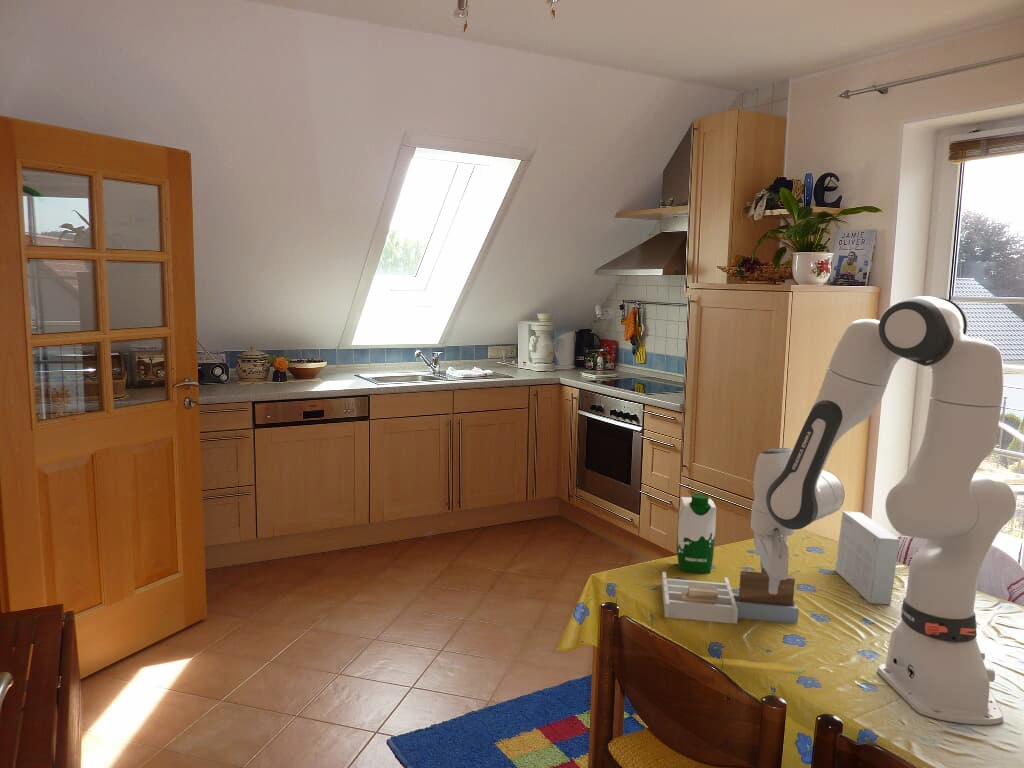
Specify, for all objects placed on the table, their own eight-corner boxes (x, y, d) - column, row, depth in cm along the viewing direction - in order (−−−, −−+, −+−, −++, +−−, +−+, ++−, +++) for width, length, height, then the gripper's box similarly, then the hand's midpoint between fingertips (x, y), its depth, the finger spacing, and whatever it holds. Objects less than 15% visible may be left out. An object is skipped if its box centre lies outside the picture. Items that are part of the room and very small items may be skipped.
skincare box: (893, 605, 179) (900, 539, 177) (869, 604, 179) (876, 538, 177) (855, 570, 200) (861, 510, 198) (834, 570, 200) (839, 510, 198)
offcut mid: (714, 608, 168) (715, 600, 167) (681, 605, 169) (681, 597, 168) (713, 602, 171) (713, 594, 170) (680, 599, 172) (681, 591, 171)
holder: (797, 627, 166) (799, 609, 165) (734, 621, 168) (736, 604, 167) (792, 615, 172) (793, 598, 171) (731, 610, 174) (732, 592, 173)
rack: (736, 627, 165) (738, 610, 164) (664, 621, 167) (665, 603, 167) (726, 593, 183) (727, 577, 182) (661, 588, 185) (662, 571, 184)
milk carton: (677, 576, 192) (683, 497, 189) (674, 563, 201) (678, 487, 198) (714, 578, 191) (719, 500, 189) (708, 565, 200) (714, 489, 197)
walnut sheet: (791, 618, 168) (795, 578, 167) (738, 613, 170) (741, 574, 168) (789, 614, 170) (793, 575, 169) (737, 610, 172) (740, 570, 170)
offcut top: (717, 600, 167) (718, 592, 167) (689, 598, 168) (689, 590, 168) (716, 595, 170) (716, 587, 170) (688, 592, 171) (688, 584, 171)
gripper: (798, 539, 156) (793, 605, 158) (779, 510, 176) (775, 568, 178) (765, 536, 157) (761, 602, 159) (750, 508, 177) (746, 566, 179)
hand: (768, 584), depth 169 cm, fingers open, 8 cm apart
